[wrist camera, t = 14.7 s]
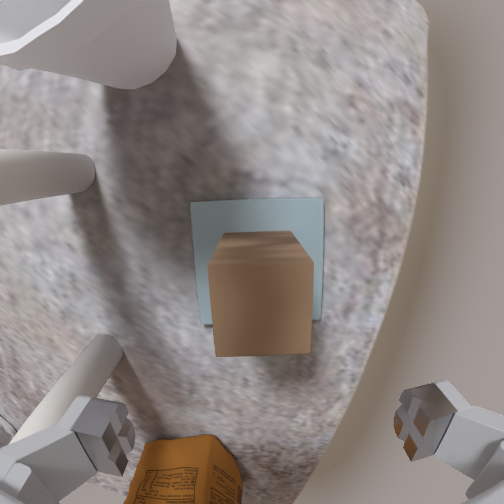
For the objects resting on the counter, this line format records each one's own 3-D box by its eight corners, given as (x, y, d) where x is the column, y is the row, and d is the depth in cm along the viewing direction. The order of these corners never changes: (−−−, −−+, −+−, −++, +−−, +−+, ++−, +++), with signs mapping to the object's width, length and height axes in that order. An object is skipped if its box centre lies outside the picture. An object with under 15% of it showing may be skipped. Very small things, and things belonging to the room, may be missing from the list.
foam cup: (91, 126, 19) (-38, 98, 6) (82, 34, 17) (-11, -30, 4) (209, 85, 19) (157, -22, 6) (188, -8, 16) (145, -117, 4)
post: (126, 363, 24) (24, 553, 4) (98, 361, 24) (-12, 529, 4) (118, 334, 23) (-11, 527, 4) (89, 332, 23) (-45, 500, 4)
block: (290, 230, 20) (314, 262, 13) (290, 292, 21) (310, 352, 14) (223, 232, 20) (207, 266, 13) (227, 295, 22) (215, 356, 14)
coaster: (319, 316, 23) (320, 319, 22) (201, 320, 23) (200, 324, 22) (321, 197, 20) (323, 197, 20) (191, 201, 21) (189, 202, 20)
